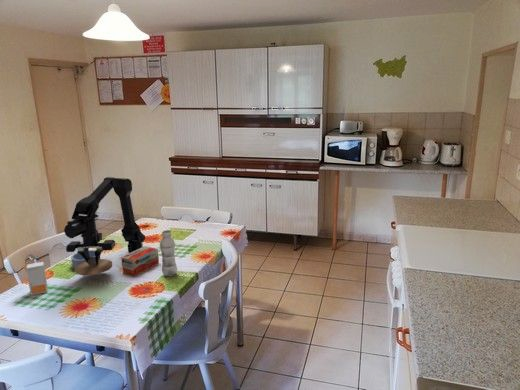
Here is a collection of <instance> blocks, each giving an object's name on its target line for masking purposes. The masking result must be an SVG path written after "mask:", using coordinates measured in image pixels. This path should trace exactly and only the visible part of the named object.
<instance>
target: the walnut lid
mask: <svg viewBox="0 0 520 390" xmlns="http://www.w3.org/2000/svg"><path fill="white" fill-rule="evenodd" d="M88 263H89V265H88ZM88 263H87V262H83V263H81V264H79V265H78V266H76V267H75V270H74V273H75V274H76V275H79V276H94V275H95V276H96V275H99V274H102V273H104V272H107V271H109V270H111V268H112V267H113V262H112V260H110V259H107V258H100V259H99V263H98V264H96V258H95V257H90V258H89V260H88Z"/></svg>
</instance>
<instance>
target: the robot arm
mask: <svg viewBox="0 0 520 390" xmlns="http://www.w3.org/2000/svg"><path fill="white" fill-rule="evenodd" d="M112 189H113V191H114V193H115V195H116V196H117V197H118V198H119V203H120V209H121V212H122V219H123V222H124V225H123V227H122V228H121V230H120V232H121V235H122V237H123V239H124V241H125V242H127V243H128V244H127V252H128V254H129V253H131V252H133V251H135V250H138V249H140V248H142V247H144V244H143V243H144V242H145V241H146V235H145V234H144V233H143V232H142V231H141V228H140V226H139V225H138V224H137V222H136V219H135V214H134V210H133V205H132V204H133V203H132V199H131V195H132V191H133V183H132V180H131V179H130V178H123V177H112V176H111V177H110V176H107V177H104V178H103V181H102V182H101V183H100V184H99V185H98V186H97V187H96V188H95V189H94V190H93V191H92V192H91V193H90V194H89V195H88V196H86V197H85V196H84V197H83V198H81V199H79V200H78V202H76V204H75V208H74V210H73V213H72V216H71V220H68V221H67V225H65V226H64V229H63V232H64V234H65V236H66V237H68V238H69V239H75V238H76V237H78V236H80V237H81V238H82V243H81V241H80V240H75V241H70V242H69V243H68V244H67V245H66V247H65V251H66V253H73V252H75V251H76V250H77V252H76V253H79V254H80V255H81V256H82V257H83V258H84V259H85V260H86V262H87V263H88V260H89V258H90V257H89V250H90V249H93V248H95V250H96V251H95V258H96V264H98V263H99V259H101V256H102V255H101V254H102V252H104V251H112V250H113V249H115V247H116V241H115V240H114V239H105V240H104V241H103V242H101V241H102V240H103V232H99V231H98V229H97V224H96V219H97V218H98V217H99V215H98V214H96V212H97V211H98V209H99V208H100V206H99V205H100V202H102V200H103V199H104V198H105V197H106V196H107V194H108V193H110V191H111V190H112ZM88 265H89V263H88Z"/></svg>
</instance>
